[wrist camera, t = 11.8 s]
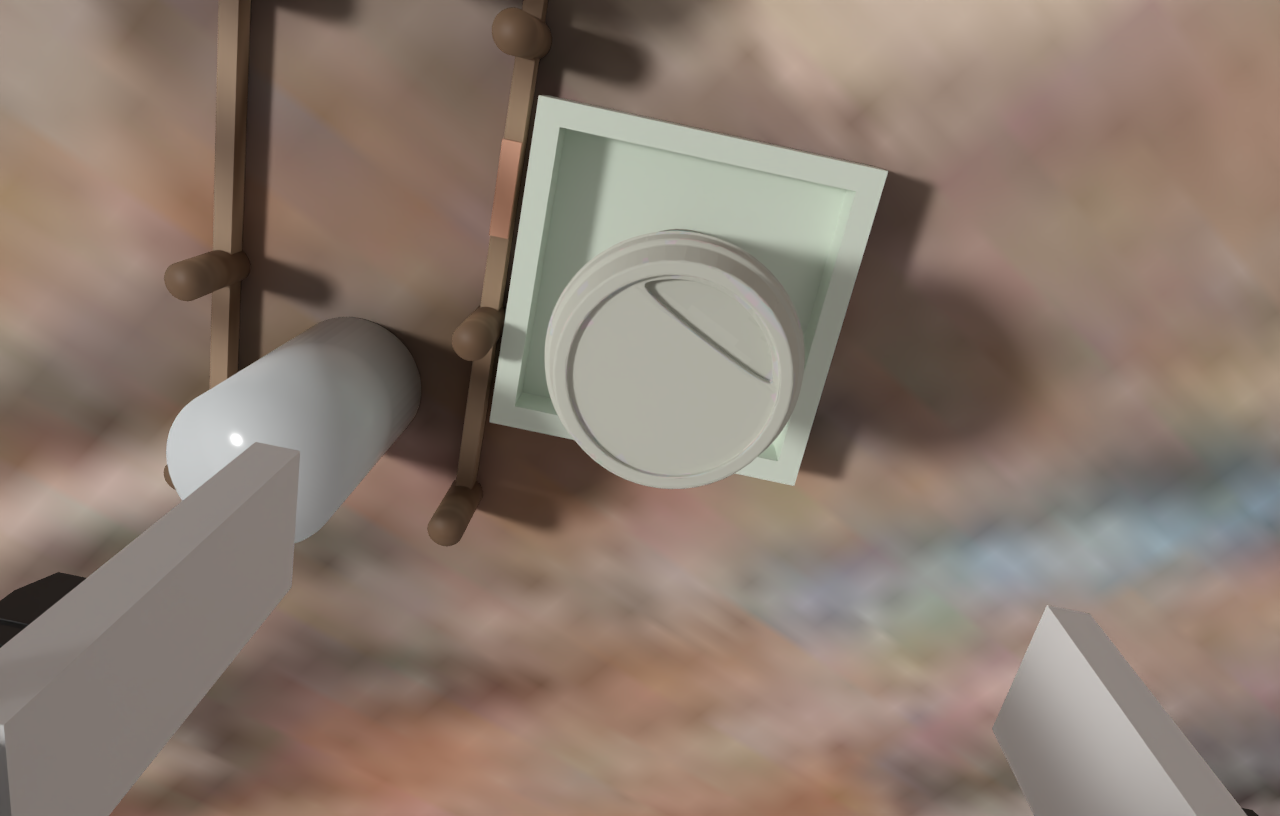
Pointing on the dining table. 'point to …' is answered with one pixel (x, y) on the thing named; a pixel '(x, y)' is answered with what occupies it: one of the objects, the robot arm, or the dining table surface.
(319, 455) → the white rounded capsule
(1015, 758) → the robot arm
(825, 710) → the dining table surface
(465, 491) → the rack
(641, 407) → the coffee cup
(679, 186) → the tray
